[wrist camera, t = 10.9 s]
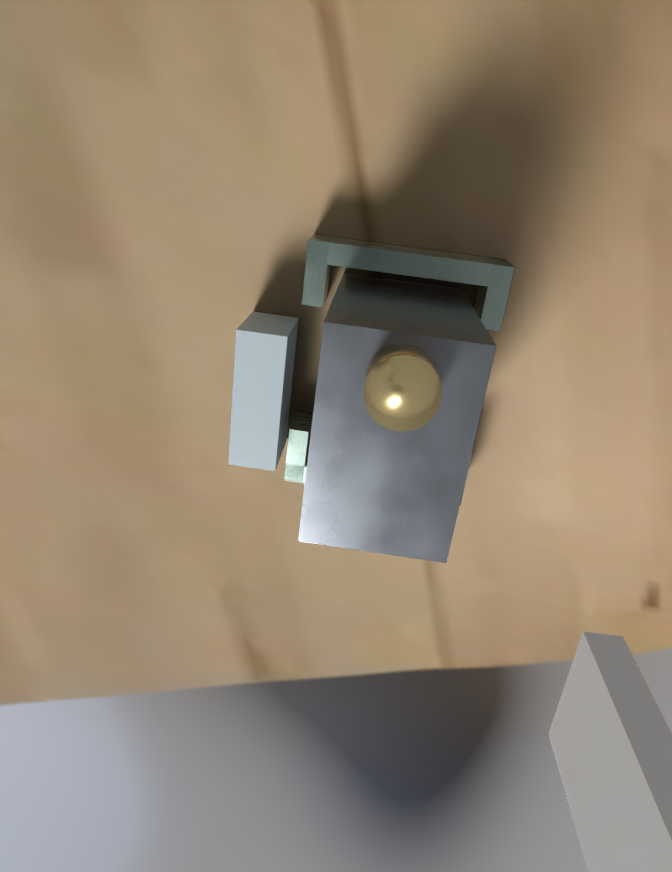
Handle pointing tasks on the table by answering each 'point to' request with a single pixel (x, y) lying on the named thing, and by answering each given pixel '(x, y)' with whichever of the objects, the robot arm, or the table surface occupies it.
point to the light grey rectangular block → (262, 389)
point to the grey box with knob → (394, 417)
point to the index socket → (394, 260)
